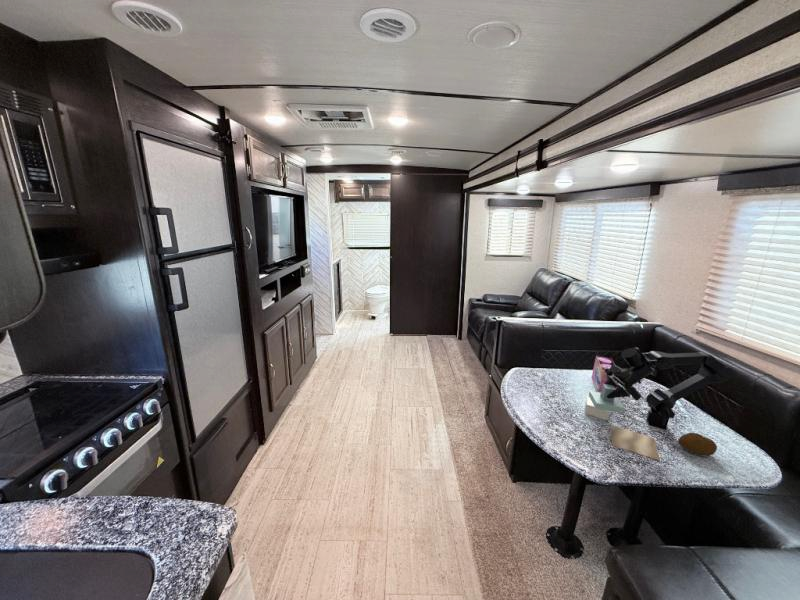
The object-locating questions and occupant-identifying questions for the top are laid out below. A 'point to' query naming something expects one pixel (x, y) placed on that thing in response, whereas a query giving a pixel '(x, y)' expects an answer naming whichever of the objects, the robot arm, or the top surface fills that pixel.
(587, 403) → the box
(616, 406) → the lid
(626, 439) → the cork mat
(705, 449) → the potato
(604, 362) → the gum box
